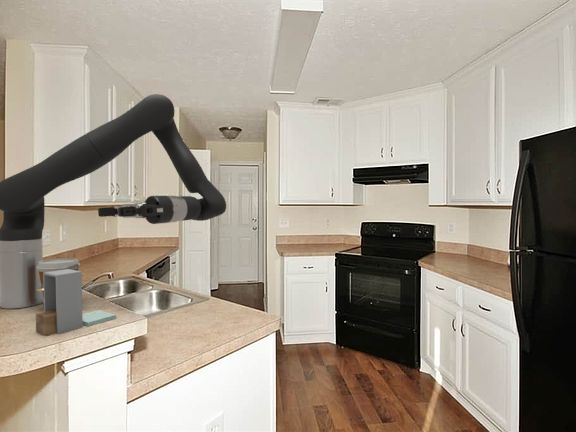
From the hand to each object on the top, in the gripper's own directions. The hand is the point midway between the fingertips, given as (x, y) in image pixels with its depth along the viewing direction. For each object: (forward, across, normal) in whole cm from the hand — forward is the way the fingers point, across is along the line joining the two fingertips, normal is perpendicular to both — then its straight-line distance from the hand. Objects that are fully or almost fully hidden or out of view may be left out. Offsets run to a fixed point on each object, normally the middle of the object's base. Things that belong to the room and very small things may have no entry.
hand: (108, 212), depth 84 cm
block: (+14, 0, +24) cm, 28 cm away
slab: (+5, 0, +24) cm, 25 cm away
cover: (+11, 0, +24) cm, 27 cm away
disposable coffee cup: (+4, -18, +24) cm, 31 cm away
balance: (+6, -11, +24) cm, 28 cm away
